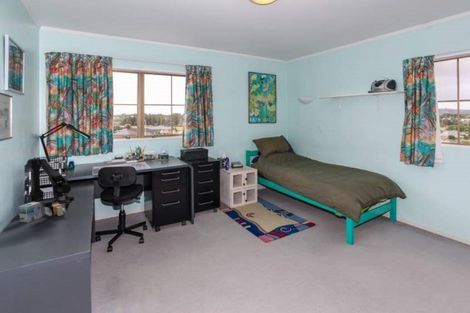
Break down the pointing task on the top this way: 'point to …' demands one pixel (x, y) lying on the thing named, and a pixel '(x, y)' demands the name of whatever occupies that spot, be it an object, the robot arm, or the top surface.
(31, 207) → the light bulb box
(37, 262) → the top surface
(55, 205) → the tethered block
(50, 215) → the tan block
